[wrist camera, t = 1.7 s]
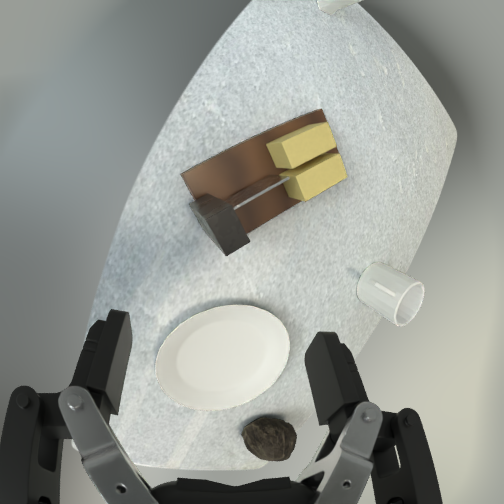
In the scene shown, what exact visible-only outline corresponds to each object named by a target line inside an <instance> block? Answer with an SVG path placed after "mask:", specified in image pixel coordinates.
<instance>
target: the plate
mask: <svg viewBox="0 0 504 504" xmlns="http://www.w3.org/2000/svg"><path fill="white" fill-rule="evenodd" d="M289 353H290V338H289V335H288V332H287V329H286V327H285V326H284V325H283V324H282V322H281V321H280V320H279V318H277V317H276V316H274V315H273V314H271V313H270V312H268V311H267V310H264V309H261V308H258V307H255V306H252V305H236V304H233V305H226V306H220V307H214V308H211V309H209V310H206V311H203V312H200V313H197V314H195V315H194V316H192V317H190V318H189V319H187V320H186V321H184V322H182V323H181V324H179V325H178V326H177V327H176V328H175V329H174V330H173V331H172V332H171V333H170V334H169V335H168V336H167V337H166V339H165V341H164V342H163V344H162V346H161V347H160V349H159V351H158V354H157V358H156V362H155V371H156V378H157V381H158V383H159V385H160V387H161V389H162V390H163V391H164V393H165V394H166V395H167V396H168V397H169V398H170V399H172V400H173V401H175V402H177V403H178V404H180V405H182V406H185V407H188V408H191V409H195V410H202V411H218V410H225V409H229V408H234V407H237V406H240V405H242V404H245V403H247V402H249V401H251V400H253V399H254V398H256V397H258V396H259V395H261V394H262V393H263V392H265V391H266V390H267V389H268V388H269V387H271V386H272V385H273V383H274V382H275V381H276V380H277V379H278V377H279V376H280V375H281V373H282V371H283V370H284V368H285V366H286V364H287V361H288V357H289Z"/></svg>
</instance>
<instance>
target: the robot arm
mask: <svg viewBox="0 0 504 504" xmlns="http://www.w3.org/2000/svg"><path fill="white" fill-rule="evenodd" d="M131 348H132V330H131V323H130V316H129V312H125V311H119V310H114V309H111V310H110V312H109V314H108V317H107V319H106V321H103V320H97V321H96V322H95V323H94V324H93V326H92V327H91V328H90V329H89V332H88V335H87V337H86V341H85V343H84V346H83V350H82V351H81V354H80V357H79V360H78V363H77V366H76V370H75V373H74V376H73V379H72V382H71V383H70V385H69V387H67V388H66V389H64V390H63V391H62V392H58V393H36V392H35V390H34V389H32V388H31V387H29V386H20V387H18V388H16V389H15V390H14V391H13V392H12V394H11V397H10V401H9V405H8V408H7V413H6V417H5V422H4V427H3V431H2V437H1V443H0V504H60V471H61V459H62V449H63V440H64V439H73V440H74V442H75V444H76V446H77V448H78V450H79V452H80V454H81V457H82V459H81V461H82V464H83V466H84V468H85V470H86V472H87V474H88V476H89V477H90V479H91V481H92V482H93V484H94V486H95V487H96V489H97V490H98V492H99V493H100V495H101V496H102V498H103V499H104V501H105V502H106V504H357V503H358V501H359V499H360V497H361V494H362V492H363V490H364V488H365V486H366V483H367V481H368V478H369V476H370V474H371V478H372V483H373V489H374V495H375V500H376V504H442V498H441V493H440V488H439V484H438V480H437V475H436V471H435V468H434V463H433V460H432V456H431V452H430V449H429V445H428V442H427V439H426V435H425V432H424V429H423V426H422V423H421V420H420V417H419V415H418V413H417V412H416V411H415V410H413V409H410V408H404V409H402V410H401V411H400V412H398V413H392V412H385V411H381V410H380V408H379V407H378V406H377V405H376V404H374V403H372V402H369V400H368V397H367V395H366V392H365V389H364V386H363V383H362V380H361V378H360V375H359V372H358V371H357V370H358V369H357V366H356V364H355V361H354V358H353V355H352V353H351V351H350V350H349V349H348V348H347V346H346V345H345V344H344V343H340V341H339V338H338V336H337V334H336V333H335V332H318V333H317V334H316V336H315V337H314V339H313V341H312V342H311V344H310V346H309V347H308V349H307V351H306V353H305V366H306V370H307V375H308V379H309V383H310V387H311V391H312V395H313V400H314V404H315V408H316V412H317V417H318V421H319V425H328V426H329V430H328V431H327V433H326V434H325V437H324V438H323V440H322V442H321V444H320V446H319V448H318V450H317V451H316V453H315V455H314V457H313V459H312V460H311V462H310V464H309V465H308V466H307V467H306V468H305V469H304V470H303V471H302V472H301V474H300V475H299V477H298V478H297V480H296V481H290V478H289V477H282V478H272V479H262V480H259V481H255V482H252V483H248V484H245V485H241V486H230V485H225V484H221V483H217V482H213V481H209V480H201V479H187V478H177V481H171V482H167V483H163V484H160V485H158V486H156V487H154V488H151V486H150V485H149V484H148V482H147V481H146V480H145V478H144V477H143V476H142V474H141V473H140V471H139V470H138V469H137V468H136V466H135V465H134V463H133V462H132V461H131V459H130V458H129V456H128V455H127V453H126V452H125V450H124V448H123V447H122V445H121V444H120V442H119V440H118V439H117V437H116V435H115V434H114V432H113V430H112V428H111V427H110V425H109V420H110V415H111V414H114V415H118V412H119V406H120V400H121V395H122V390H123V384H124V379H125V375H126V370H127V365H128V361H129V356H130V352H131ZM395 445H396V447H397V451H398V455H399V459H400V464H401V467H400V468H399V463H398V459H397V455H396V451H395V447H394V446H395Z"/></svg>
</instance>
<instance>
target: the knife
mask: <svg viewBox="0 0 504 504" xmlns="http://www.w3.org/2000/svg"><path fill="white" fill-rule="evenodd" d="M289 179H290V178H289V177H288V176H281V175H273V174H271V175H269V176H267V177H265V178H263V179H261V180H259V181H258V182H256V183H254V184H252V185H250V186H248V187H247V188H245V189H243V190H241V191H239V192H238V193H236V194H234V195H232V196H231V197H229V198H227V199H225V200H224V201H223V200H221V199H218V198H216V197H214V196H212V195H210V194H208V193H207V194H206V195H204V196H202V197H200V198H199V199H197V200H195V201H194V202H192V203H190V204H189V205H190V207H191V209H192V210H193V212H194V214H195V216H196V217H197V219H198V221H199V223H200V225H201V226H202V228H203V230H204V231H205V233H206V234H207V235H208V236H209V237H210V238H211V240H212V241H213V242H214V243H215V244H216V245H217V246H218V248H219V249H220V250H221V251H222V252H223V253H224V254H225V256H228V255H229V254H231V253H233V252H234V251H236V250H238V249H239V248H241V247H242V246H244V245H246V244H247V243H249V242H250V240H249V238H248V236H247V234H246V232H245V230H244V228H243V226H242V224H241V222H240V220H239V218H238V216H237V214H236V212H235V210H236V209H237V208H239V207H241V206H242V205H244V204H246V203H248V202H249V201H251V200H253V199H255V198H256V197H258V196H260V195H262V194H264V193H265V192H267V191H269V190H271V189H273V188H274V187H276V186H278V185H280V184H282V183H283V182H285V181H287V180H289Z"/></svg>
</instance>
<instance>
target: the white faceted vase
mask: <svg viewBox="0 0 504 504" xmlns="http://www.w3.org/2000/svg"><path fill="white" fill-rule="evenodd" d="M360 1H362V0H317V3H318V6H319V9H320V10H321V11H323V12H325V13H327V14H329V15H331V16H333V15H334V14H335V13H336V12H337V10H340V9H342V8H345V7H347V6H349V5H352V4H355V3H357V2H360Z"/></svg>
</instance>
